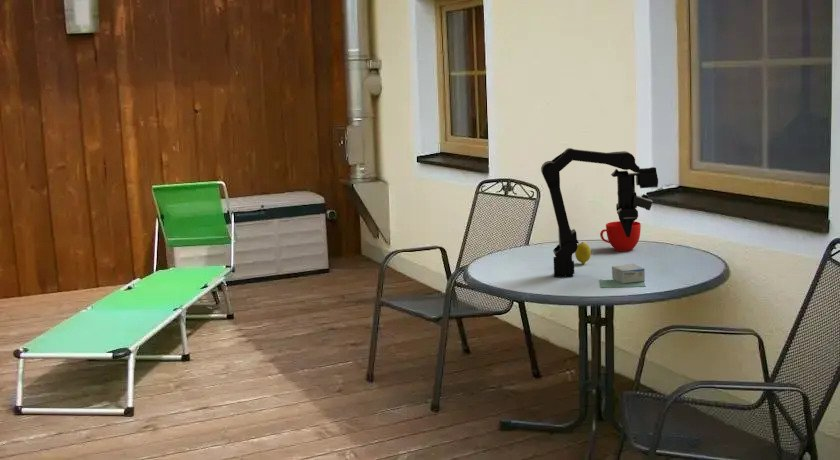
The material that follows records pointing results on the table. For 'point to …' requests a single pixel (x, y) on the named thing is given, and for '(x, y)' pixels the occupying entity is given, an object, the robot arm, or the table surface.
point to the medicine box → (628, 273)
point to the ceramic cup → (621, 236)
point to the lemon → (583, 252)
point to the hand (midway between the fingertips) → (627, 234)
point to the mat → (620, 284)
